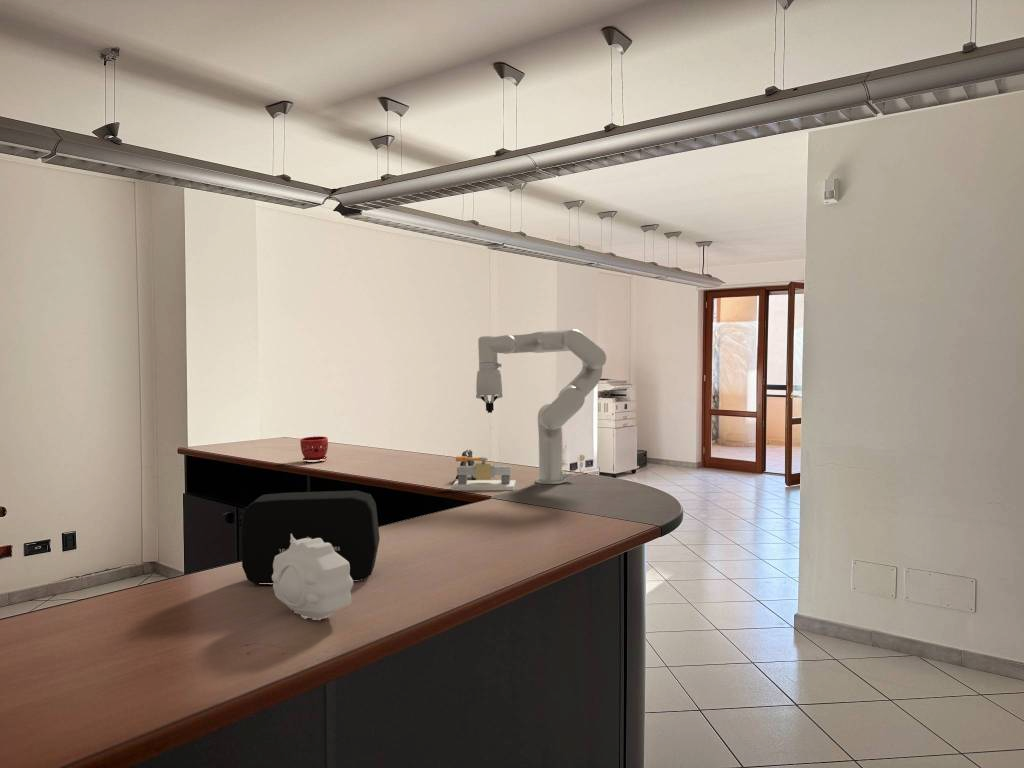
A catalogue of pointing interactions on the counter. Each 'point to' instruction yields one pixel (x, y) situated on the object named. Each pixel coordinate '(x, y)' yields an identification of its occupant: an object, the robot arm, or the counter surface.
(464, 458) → the valve lever
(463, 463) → the dark grey tall piece
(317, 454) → the plant pot
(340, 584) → the white lumpy lump
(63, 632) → the counter surface
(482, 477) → the valve pipe
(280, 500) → the black hard case
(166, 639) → the counter surface
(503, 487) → the board
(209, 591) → the counter surface
